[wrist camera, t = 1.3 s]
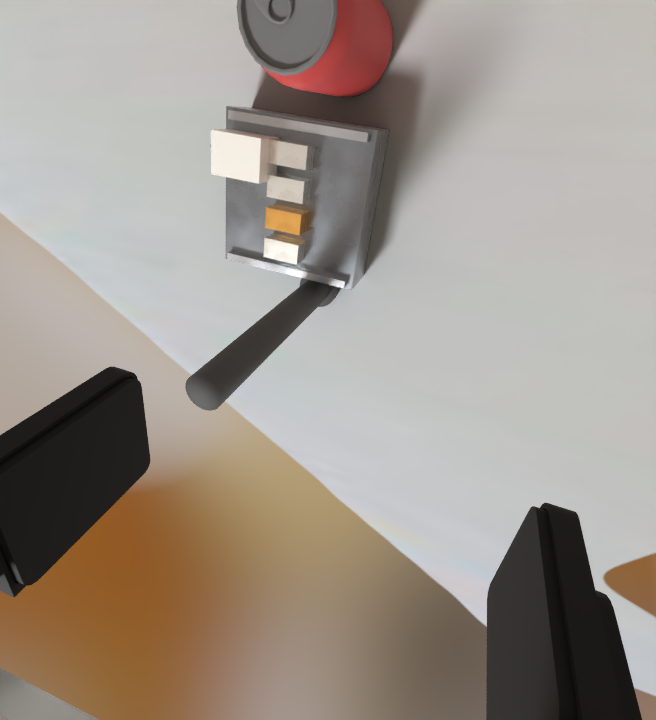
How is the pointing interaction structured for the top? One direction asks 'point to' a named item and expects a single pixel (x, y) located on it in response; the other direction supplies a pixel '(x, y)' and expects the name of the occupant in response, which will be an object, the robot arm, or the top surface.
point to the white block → (241, 155)
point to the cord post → (255, 345)
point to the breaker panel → (328, 200)
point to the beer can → (319, 42)
